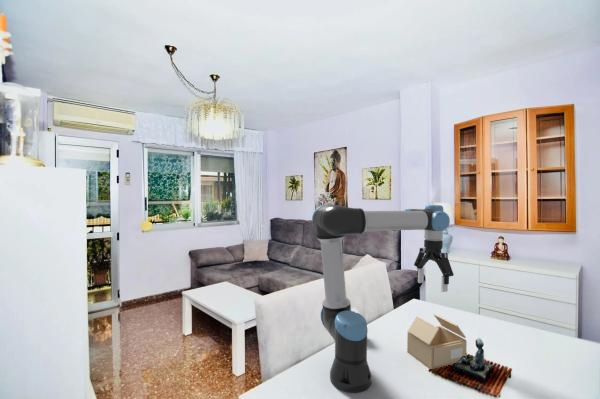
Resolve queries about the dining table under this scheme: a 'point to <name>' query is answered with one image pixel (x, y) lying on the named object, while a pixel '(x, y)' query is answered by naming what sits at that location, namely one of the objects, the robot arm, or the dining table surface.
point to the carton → (437, 349)
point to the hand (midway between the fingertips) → (431, 286)
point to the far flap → (449, 325)
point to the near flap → (423, 330)
